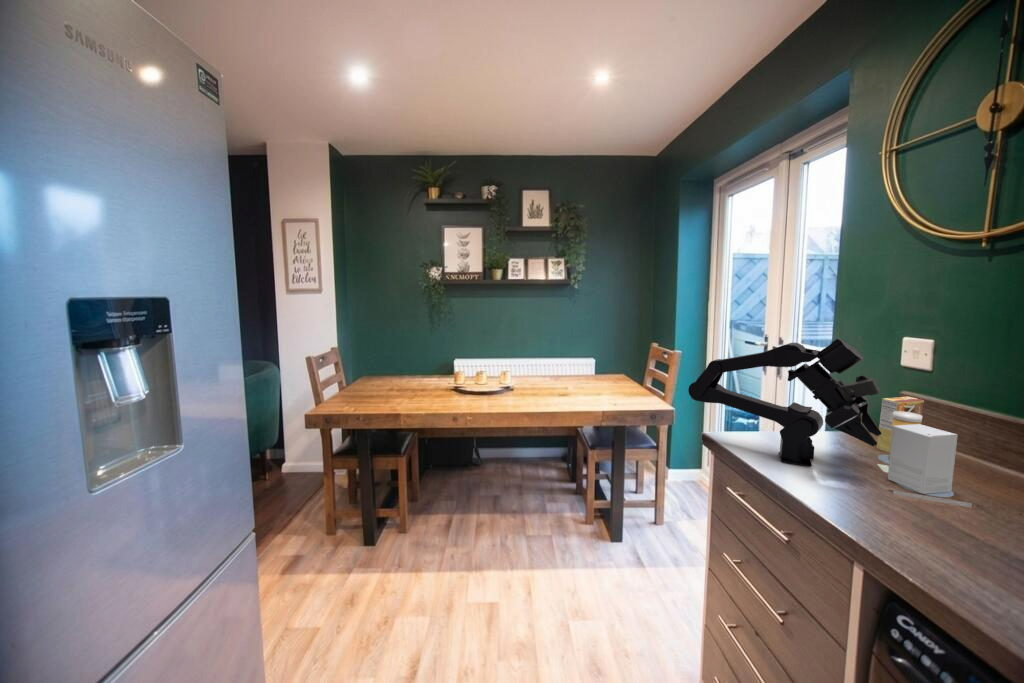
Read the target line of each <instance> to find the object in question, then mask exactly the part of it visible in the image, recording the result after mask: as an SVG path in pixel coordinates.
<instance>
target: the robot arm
mask: <svg viewBox="0 0 1024 683" xmlns="http://www.w3.org/2000/svg"><path fill="white" fill-rule="evenodd" d="M816 359H818V360H817V361H815V362H813V363H811V364H810V365H809V364H807V363H810V362H812V361H814V360H816ZM863 360H864V357H863V355H862V354H861V353H860V352H859V351H858V350H857V349H856V348H854V347H853V346H850V344H848V343H847V342H845V341H843V340H842V339H841V338H839V337H838V338H836V339H835V340H833V341H832V342H831V343H830V344H828V346H826V347H824V348H823V349H821V350H817V349H811V348H806V347H805V346H804V345H803V344H801V343H799V342H789V343H786V344H783V345H780V346H778V347H775V348H772V349H769V350H766V351H763V352H757V353H751V354H750V353H749V354H746V355H740V356H735V357H728V358H727V357H726V358H719V359H715V360H711V361H710V362H709V363H708V364H707V366H706V368H705V369H704V371H703V372H702V373H701V374H700V375H699V376H698V377H697V378H696V381H693V382H692V383H691V384H690V385H689V386H688V390H687V392H688V395H689V396H690V399H692V400H694V401H696V402H702V403H705V404H706V403H707V404H721V405H724V406H727V407H731V408H732V409H733V408H734V409H736V410H739V411H743V412H745V413H749V414H751V415H755V416H758V417H760V418H763V419H767V420H770V421H773V422H775V423H777V424H778V425H780V426H781V427H782V428H781V429H780V430H779V434H780V444H779V445H780V447H779V451H778V457H779V460H780V462H781V463H785V464H786V463H787V464H792V465H798V466H804V467H812V466H813V463H812V461H814V458H815V446H814V444H813V440H812V437H814V436H815V435H817V433H818V432H819V431H820V430H821V429H822V427H823V425H824V423H826V424H827V426H829V428H831V429H834V430H836V431H840V432H842V433H844V434H846V435H849V436H851V437H853V438H855V439H858V440H859V441H861V442H863V443H866V444H867V445H869V446H871V447H875V446H877V441H876V439H875V437H874V436H876V437H878V436H879V435H881V434H882V433H881V431H880V430H879V426H878V425H877V423H876V422H875V421H874V419H873V417H872V416H871V414H870V412H869V405H870V401H869V398H867V396H874V395H878V394H879V393H880V392H881V389H880V387H879V385H878V384H877V383H878V382H877V381H876V380H875V378H874V377H868V376H867V375H866V374H862V375H858V376H856V378H855V381H852V382H848V383H844V382H843V381H842V380H837V379H835V377H833V376H832V375H831V374H834V373H835V372H836V373H837V374H839V375H840V374H843V373H844V372H845V371H848V370H849V369H851V368H853V367H854V366H855V365H857V364H859V363H860V362H862V361H863ZM800 364H802V365H800ZM798 365H800V366H799V367H798V368H796V369H788V370H787V374H788V375H787V381H788V382H791V381H793V380H795V379H797V380H799V381H800V382H801V383H802V384H803V385H804V386H805V387H806V388H807V389H808V390H809V391H810V392H811V393H812V394H813V396H812V398H814V399H815V400H819V401H820V402H821V403H822V404H823V405H824V406H825V407H826V412H827V413H826V415H825V416H824V419H823V416H822V415H821V414H820V412H819V411H817V410H814V409H813V407H812V406H806V405H805V406H804V405H803V404H800V403H798V402H795V401H794V402H792V403H791V404H790V405H789V406H782V405H778V404H775V403H772V402H768V401H766V400H762V399H758V398H756V397H754V396H753V397H752V396H749V395H746V394H742V393H739V392H736V391H732V390H729V389H727V388H726V387H724V386H722V385H721V384H720V383H719V382H720V380H721V379H722V376H723V375H724V373H729V372H735V371H741V370H750V369H755V368H761V367H769V368H770V367H772V368H773V367H774V368H794V367H796V366H798ZM830 373H831V374H830ZM873 435H874V436H873Z"/></svg>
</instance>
